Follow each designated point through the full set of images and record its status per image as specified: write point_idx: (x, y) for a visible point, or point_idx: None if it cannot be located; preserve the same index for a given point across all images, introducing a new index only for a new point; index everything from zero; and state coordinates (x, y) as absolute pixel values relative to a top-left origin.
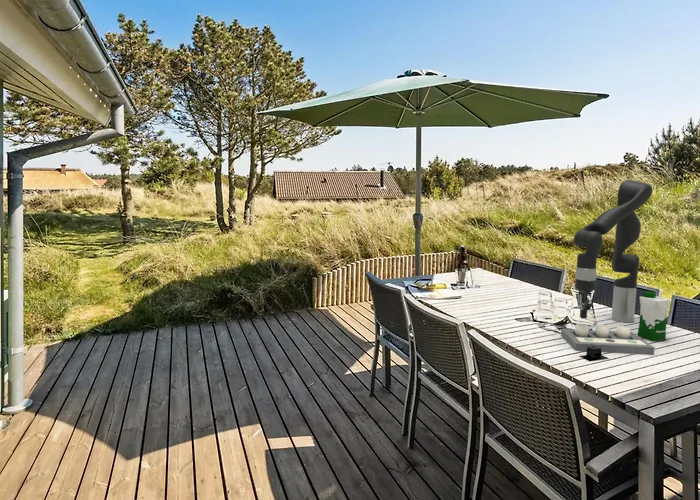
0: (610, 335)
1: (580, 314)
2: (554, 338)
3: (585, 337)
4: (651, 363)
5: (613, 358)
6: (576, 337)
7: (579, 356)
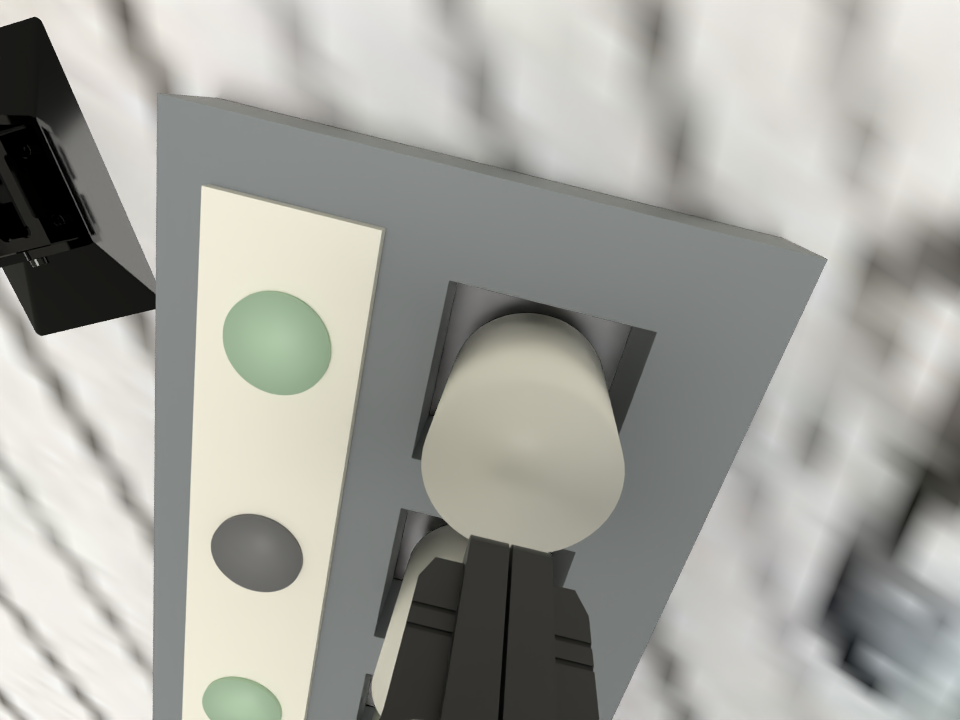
0: None
1: (511, 596)
2: (688, 60)
3: (407, 377)
4: (6, 578)
5: (50, 371)
6: (369, 234)
7: (25, 25)
